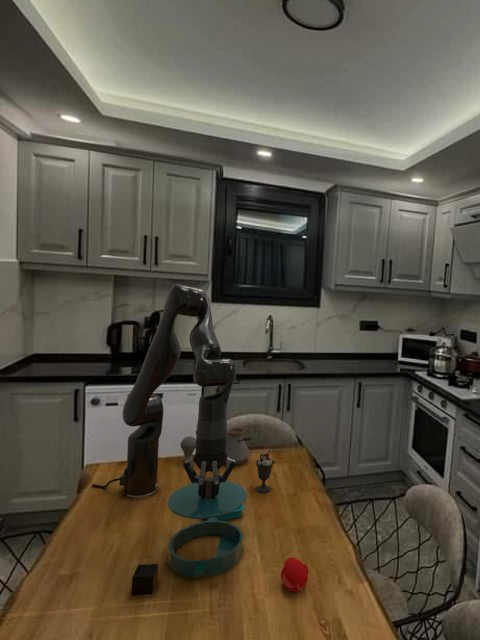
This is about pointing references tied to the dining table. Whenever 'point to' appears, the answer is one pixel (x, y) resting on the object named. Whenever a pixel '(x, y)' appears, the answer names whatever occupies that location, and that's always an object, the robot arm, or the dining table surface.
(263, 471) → the sundae
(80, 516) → the dining table surface
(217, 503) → the lid
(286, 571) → the red rounded oval piece
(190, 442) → the light bulb
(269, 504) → the dining table surface
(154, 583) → the block
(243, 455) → the coffee pot
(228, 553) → the teal tabbed round part
